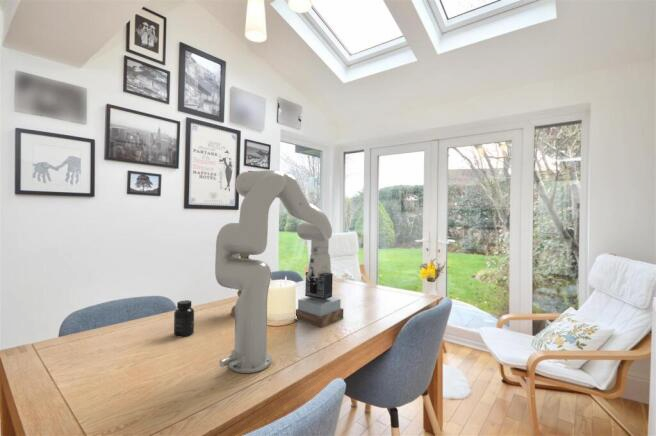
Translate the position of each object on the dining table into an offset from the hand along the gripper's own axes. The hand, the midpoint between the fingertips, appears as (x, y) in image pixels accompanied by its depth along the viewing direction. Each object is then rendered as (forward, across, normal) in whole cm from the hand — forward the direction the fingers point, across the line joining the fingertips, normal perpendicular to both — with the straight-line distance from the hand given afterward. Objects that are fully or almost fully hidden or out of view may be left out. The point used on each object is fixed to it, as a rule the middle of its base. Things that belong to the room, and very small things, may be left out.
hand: (318, 291), depth 135 cm
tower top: (+8, 0, 0) cm, 8 cm away
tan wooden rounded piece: (+12, -17, +30) cm, 37 cm away
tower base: (+12, +1, 0) cm, 13 cm away
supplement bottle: (+12, -46, +27) cm, 55 cm away
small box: (+2, 0, 0) cm, 2 cm away
